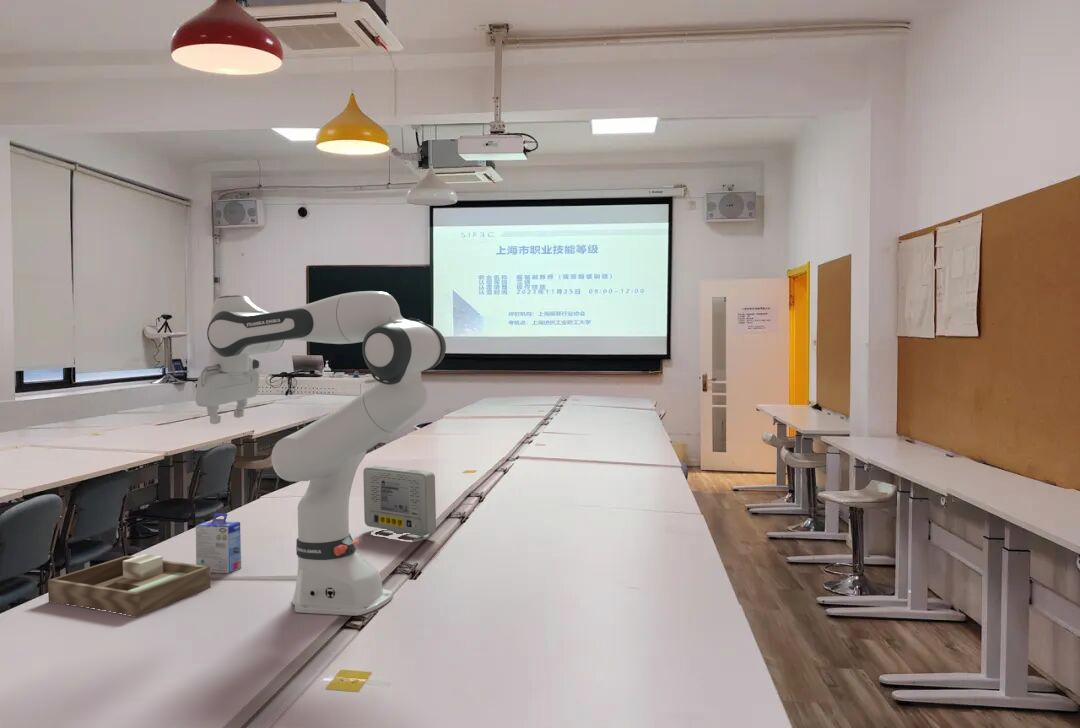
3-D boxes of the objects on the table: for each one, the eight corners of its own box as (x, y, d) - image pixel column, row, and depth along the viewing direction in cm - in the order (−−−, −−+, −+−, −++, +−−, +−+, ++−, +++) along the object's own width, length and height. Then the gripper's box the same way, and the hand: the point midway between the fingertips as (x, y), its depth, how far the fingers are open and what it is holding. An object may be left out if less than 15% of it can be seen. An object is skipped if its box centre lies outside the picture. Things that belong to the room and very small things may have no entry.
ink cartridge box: (243, 567, 189) (241, 512, 189) (229, 574, 184) (228, 517, 183) (209, 565, 191) (207, 511, 191) (195, 572, 186) (193, 516, 185)
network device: (441, 537, 215) (439, 470, 214) (421, 545, 207) (419, 475, 207) (378, 527, 228) (377, 464, 228) (358, 533, 221) (356, 468, 220)
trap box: (210, 587, 174) (209, 566, 174) (136, 617, 156) (135, 594, 156) (127, 574, 185) (126, 555, 185) (48, 601, 166) (47, 580, 166)
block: (163, 572, 176) (162, 556, 176) (141, 580, 171) (140, 563, 171) (145, 570, 179) (144, 554, 179) (123, 577, 173) (122, 561, 173)
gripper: (214, 368, 162) (212, 429, 163) (264, 360, 182) (262, 415, 183) (189, 365, 163) (187, 426, 164) (241, 358, 183) (239, 412, 184)
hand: (227, 420), depth 174 cm, fingers open, 8 cm apart
